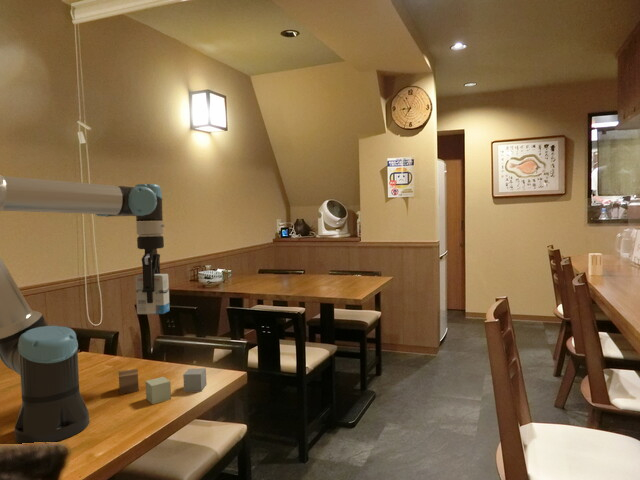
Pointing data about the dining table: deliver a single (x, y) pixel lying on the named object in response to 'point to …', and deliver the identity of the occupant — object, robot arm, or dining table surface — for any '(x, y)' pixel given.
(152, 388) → the sage cube
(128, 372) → the walnut cube
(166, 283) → the ink box
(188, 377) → the slate cube
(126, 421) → the dining table surface
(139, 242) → the robot arm
